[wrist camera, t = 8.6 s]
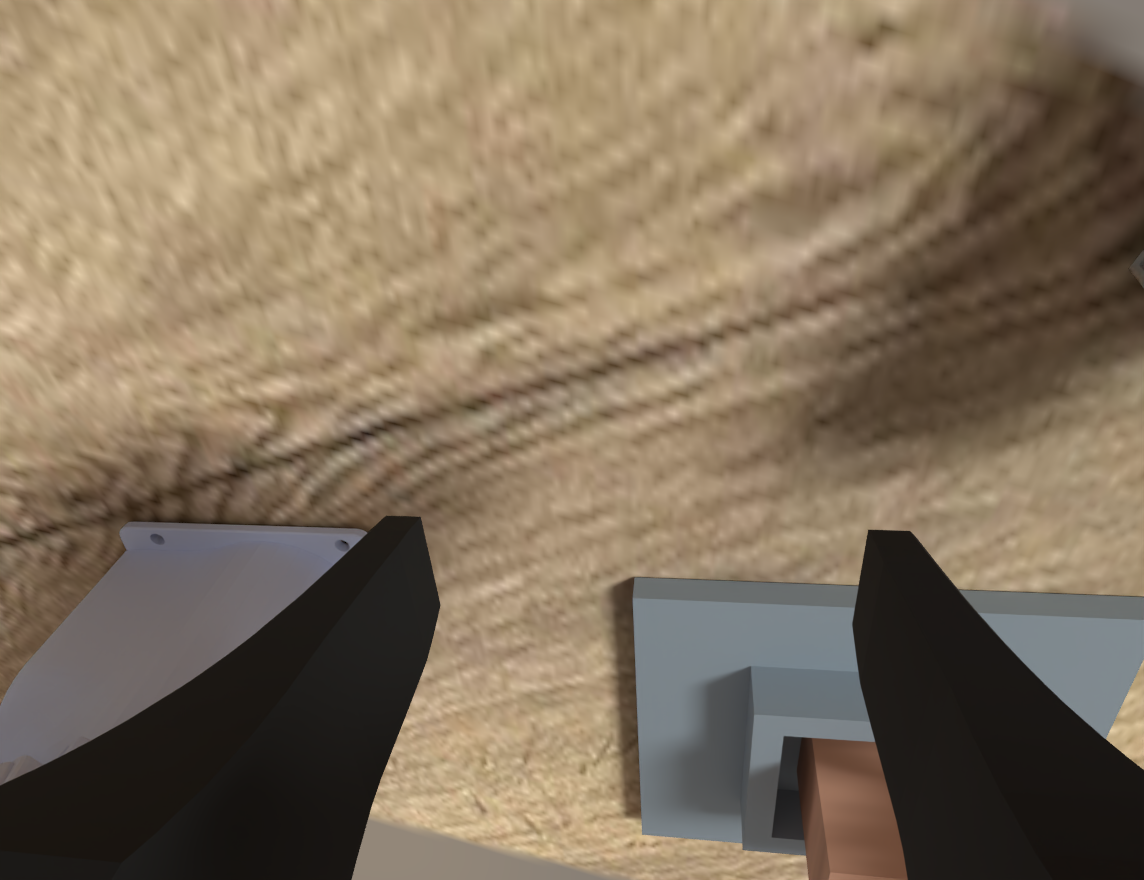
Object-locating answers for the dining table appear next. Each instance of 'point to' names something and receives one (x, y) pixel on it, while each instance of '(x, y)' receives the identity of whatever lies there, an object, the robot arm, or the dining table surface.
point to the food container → (1138, 268)
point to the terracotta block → (847, 812)
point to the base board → (814, 690)
